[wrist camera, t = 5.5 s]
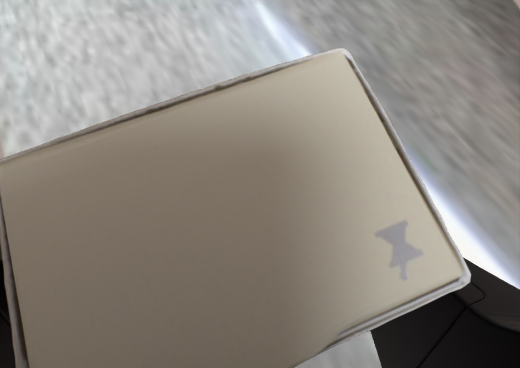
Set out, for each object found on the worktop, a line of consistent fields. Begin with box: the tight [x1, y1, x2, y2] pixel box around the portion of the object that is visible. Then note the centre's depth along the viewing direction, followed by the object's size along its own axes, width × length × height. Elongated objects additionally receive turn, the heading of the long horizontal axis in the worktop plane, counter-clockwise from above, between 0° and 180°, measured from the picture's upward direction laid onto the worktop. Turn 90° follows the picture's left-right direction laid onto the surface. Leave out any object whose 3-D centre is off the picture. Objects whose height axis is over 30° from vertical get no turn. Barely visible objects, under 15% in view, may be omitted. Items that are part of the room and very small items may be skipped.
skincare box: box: [0, 48, 471, 368], centre depth 9 cm, size 6×4×12 cm
